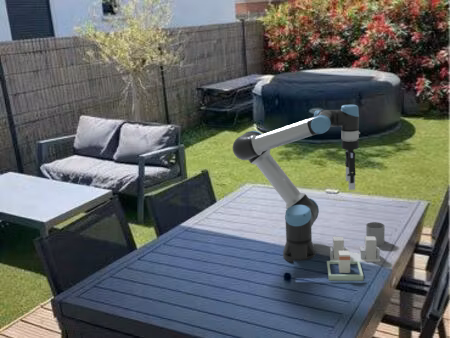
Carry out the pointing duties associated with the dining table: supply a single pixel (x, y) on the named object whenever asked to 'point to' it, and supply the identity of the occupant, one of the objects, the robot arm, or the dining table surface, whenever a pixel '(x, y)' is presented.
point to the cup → (376, 231)
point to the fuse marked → (344, 262)
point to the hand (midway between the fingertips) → (350, 185)
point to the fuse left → (337, 246)
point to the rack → (358, 255)
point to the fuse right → (370, 247)
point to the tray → (345, 276)
